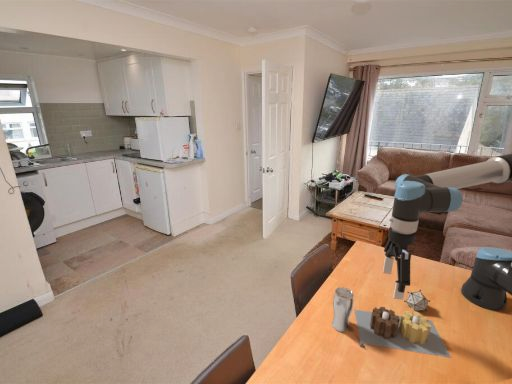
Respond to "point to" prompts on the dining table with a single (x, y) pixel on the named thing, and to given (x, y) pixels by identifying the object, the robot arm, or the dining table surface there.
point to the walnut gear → (384, 323)
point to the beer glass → (342, 308)
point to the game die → (417, 301)
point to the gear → (414, 327)
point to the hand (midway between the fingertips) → (392, 284)
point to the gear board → (399, 337)
